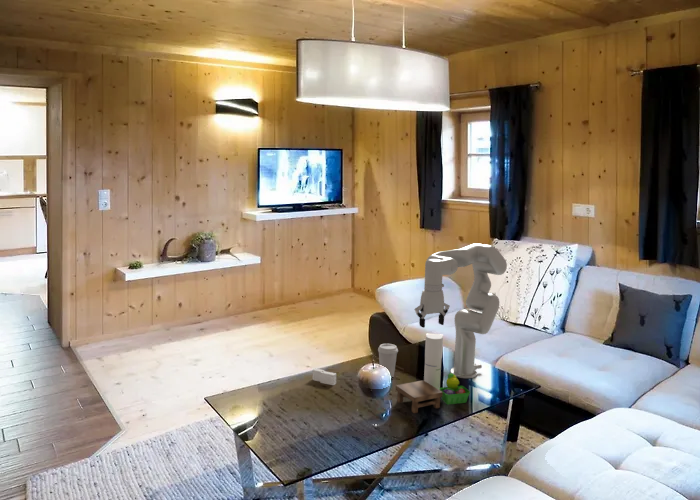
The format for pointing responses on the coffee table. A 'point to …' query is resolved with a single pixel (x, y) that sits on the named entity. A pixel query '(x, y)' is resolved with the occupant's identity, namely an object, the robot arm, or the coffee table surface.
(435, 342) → the cylindrical container
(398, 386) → the stool
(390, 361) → the coffee cup
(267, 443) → the coffee table surface
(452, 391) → the fruit basket
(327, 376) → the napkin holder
